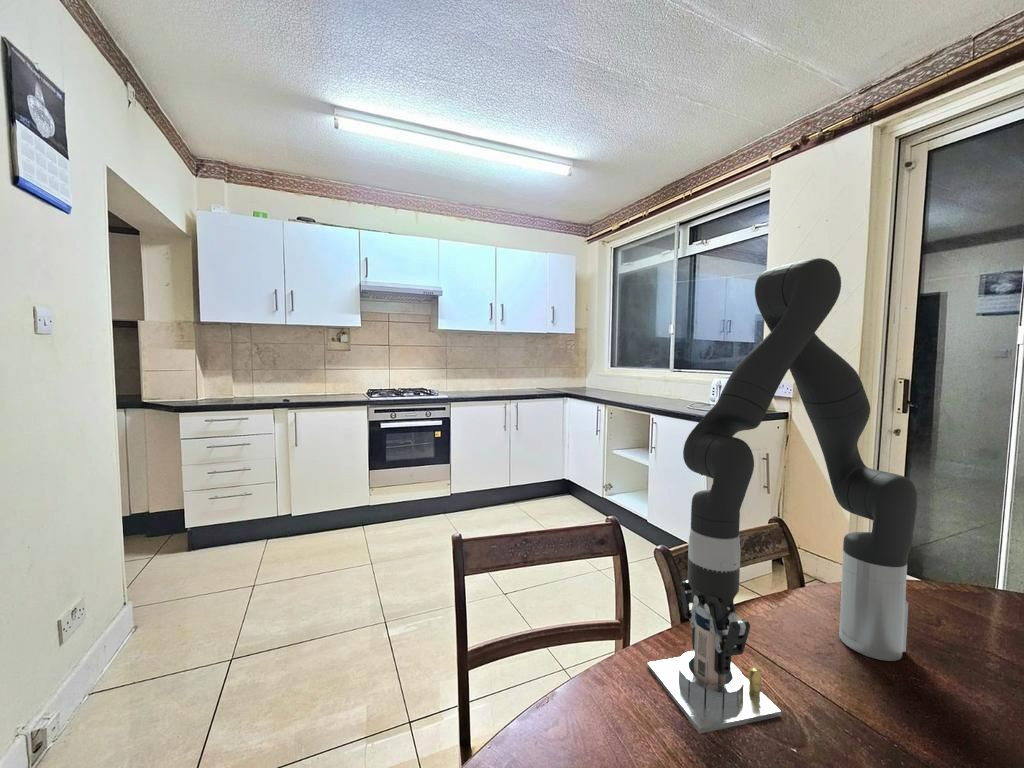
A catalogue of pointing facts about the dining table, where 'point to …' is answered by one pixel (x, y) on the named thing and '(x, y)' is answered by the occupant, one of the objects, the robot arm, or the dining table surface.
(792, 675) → the dining table surface
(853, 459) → the robot arm
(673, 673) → the flange collar
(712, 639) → the beer can
